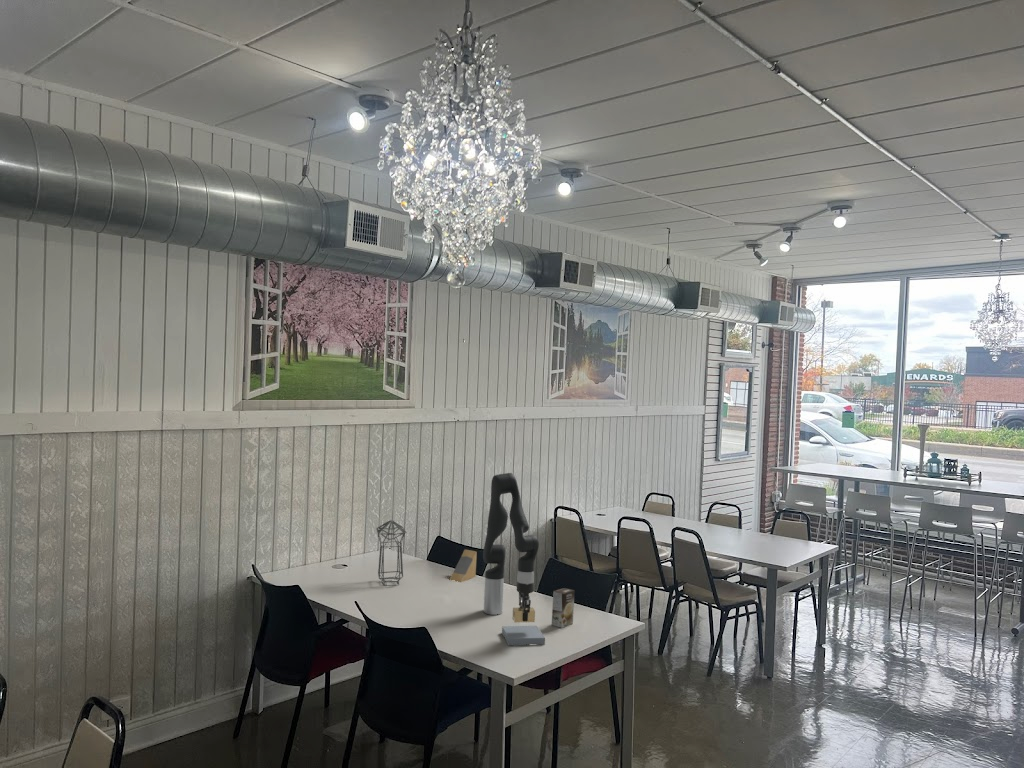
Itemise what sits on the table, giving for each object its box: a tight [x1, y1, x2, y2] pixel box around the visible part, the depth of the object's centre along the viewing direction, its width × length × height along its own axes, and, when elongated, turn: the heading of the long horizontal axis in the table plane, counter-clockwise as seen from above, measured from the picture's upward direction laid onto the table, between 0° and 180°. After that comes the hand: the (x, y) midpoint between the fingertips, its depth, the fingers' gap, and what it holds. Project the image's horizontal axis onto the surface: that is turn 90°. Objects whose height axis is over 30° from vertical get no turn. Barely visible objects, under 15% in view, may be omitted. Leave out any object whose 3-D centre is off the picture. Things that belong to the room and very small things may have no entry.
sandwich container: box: [449, 549, 477, 583], centre depth 424 cm, size 9×15×15 cm, turn 150°
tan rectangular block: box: [511, 606, 536, 623], centre depth 328 cm, size 5×9×5 cm, turn 101°
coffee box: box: [551, 587, 576, 629], centre depth 350 cm, size 9×6×16 cm
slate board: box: [501, 625, 546, 646], centre depth 328 cm, size 16×16×3 cm
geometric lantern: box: [375, 519, 407, 586], centre depth 407 cm, size 16×16×35 cm
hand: (523, 618), depth 328 cm, fingers closed on tan rectangular block, 5 cm apart
